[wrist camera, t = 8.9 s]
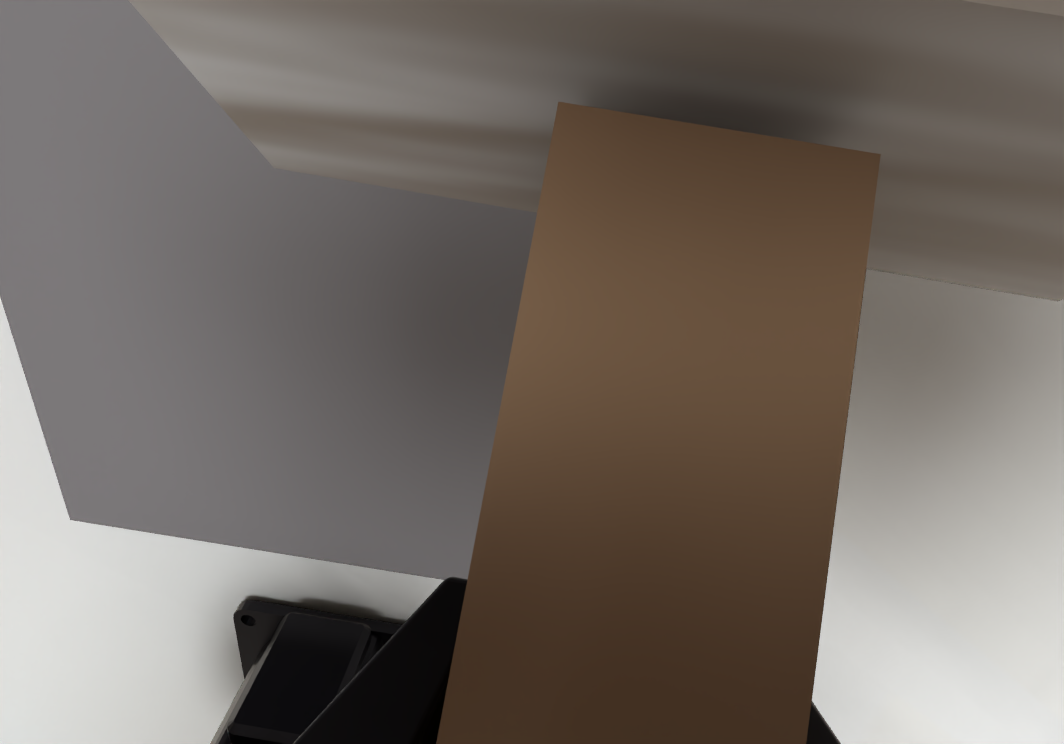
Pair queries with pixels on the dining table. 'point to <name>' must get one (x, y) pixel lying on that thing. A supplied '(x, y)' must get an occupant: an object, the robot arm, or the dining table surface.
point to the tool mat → (240, 313)
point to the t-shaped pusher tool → (667, 296)
